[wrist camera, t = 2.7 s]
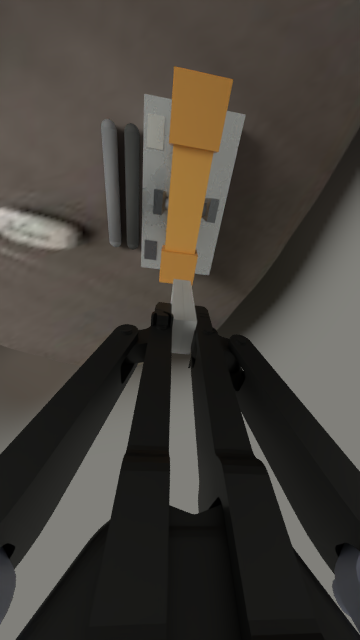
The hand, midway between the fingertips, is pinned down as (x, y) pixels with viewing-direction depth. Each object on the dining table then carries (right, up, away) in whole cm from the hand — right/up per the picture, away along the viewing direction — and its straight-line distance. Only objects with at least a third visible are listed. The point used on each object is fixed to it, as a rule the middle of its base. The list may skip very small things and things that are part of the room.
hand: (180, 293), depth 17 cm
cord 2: (-7, +17, +13) cm, 23 cm away
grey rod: (-10, +18, +12) cm, 24 cm away
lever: (+1, +11, +5) cm, 12 cm away
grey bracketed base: (0, +17, +13) cm, 21 cm away
